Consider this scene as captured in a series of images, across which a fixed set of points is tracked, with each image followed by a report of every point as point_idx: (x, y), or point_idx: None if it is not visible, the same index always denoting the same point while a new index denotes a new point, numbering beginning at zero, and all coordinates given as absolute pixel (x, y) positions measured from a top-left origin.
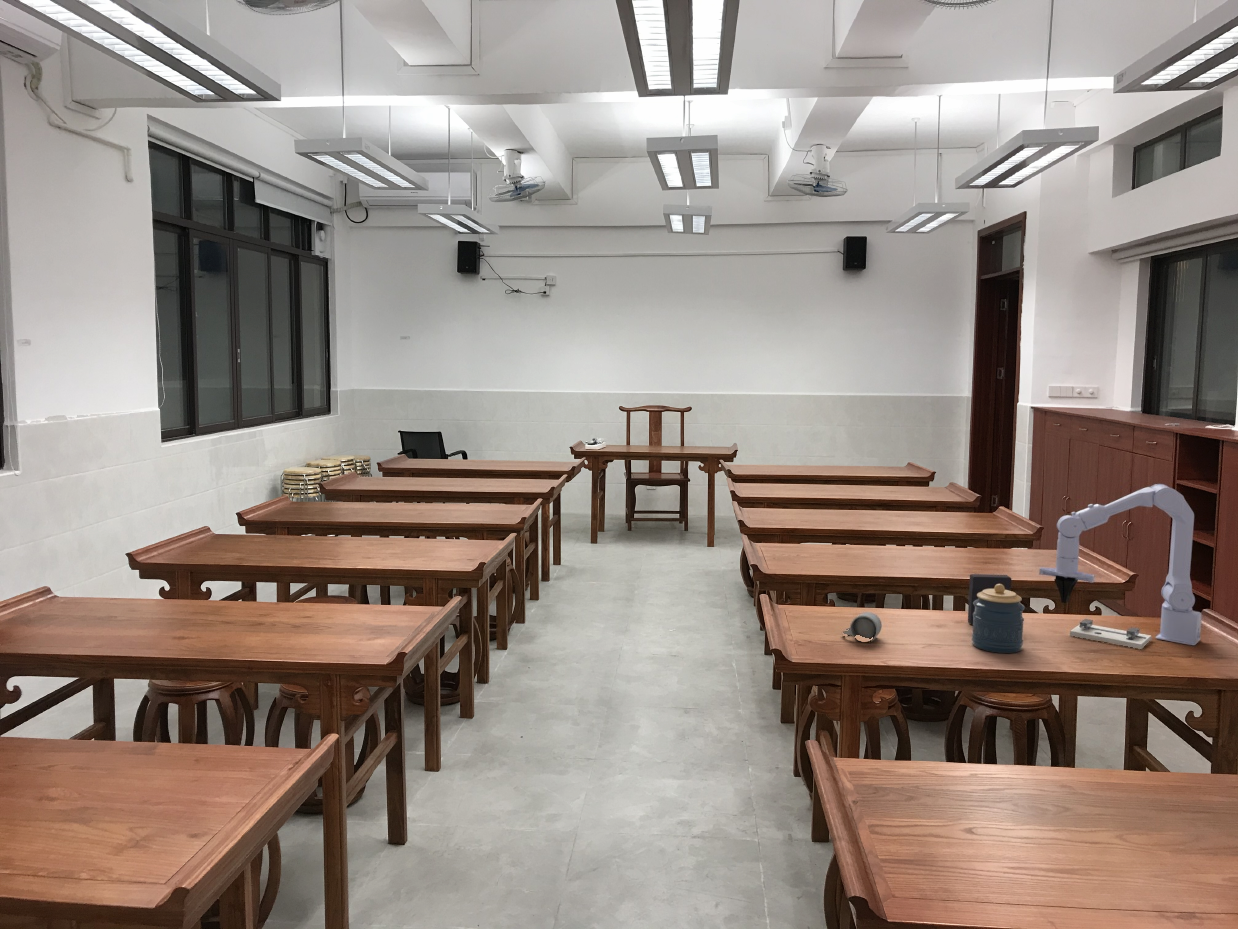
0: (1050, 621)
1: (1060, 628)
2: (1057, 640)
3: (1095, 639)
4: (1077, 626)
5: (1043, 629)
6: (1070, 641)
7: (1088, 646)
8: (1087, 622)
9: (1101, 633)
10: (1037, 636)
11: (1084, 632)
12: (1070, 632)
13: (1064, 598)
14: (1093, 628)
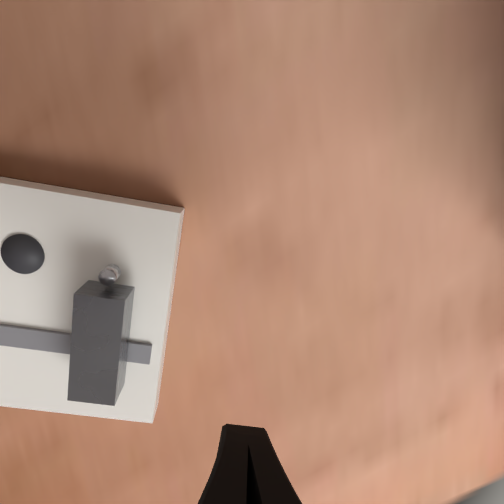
0: (311, 436)
1: (252, 338)
2: (234, 59)
3: (33, 183)
4: (159, 339)
5: (332, 266)
6: (161, 83)
7: (42, 21)
8: (80, 323)
9: (2, 255)
10: (353, 85)
11: (96, 225)
12: (178, 210)
13: (241, 452)
14: (67, 334)
